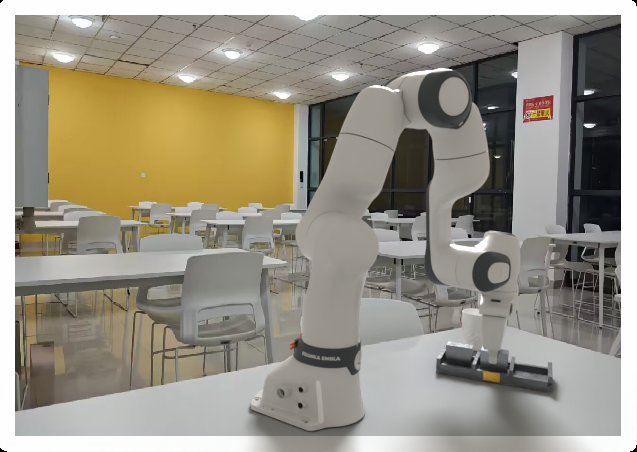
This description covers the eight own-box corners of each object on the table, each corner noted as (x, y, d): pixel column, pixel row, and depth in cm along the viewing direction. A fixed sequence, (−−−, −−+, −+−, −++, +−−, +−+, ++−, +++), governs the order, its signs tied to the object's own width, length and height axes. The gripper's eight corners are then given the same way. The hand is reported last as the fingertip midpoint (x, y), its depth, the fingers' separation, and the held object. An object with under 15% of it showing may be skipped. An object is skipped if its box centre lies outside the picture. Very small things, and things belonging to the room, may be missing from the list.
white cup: (494, 352, 137) (496, 316, 136) (464, 351, 137) (466, 315, 136) (485, 343, 144) (487, 308, 144) (457, 342, 145) (458, 307, 144)
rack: (435, 373, 121) (436, 348, 120) (443, 359, 130) (444, 336, 130) (551, 393, 111) (553, 366, 110) (551, 377, 120) (552, 352, 120)
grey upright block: (479, 370, 120) (480, 350, 120) (481, 366, 123) (482, 346, 123) (506, 375, 118) (508, 354, 117) (507, 370, 121) (509, 350, 120)
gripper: (488, 290, 130) (485, 343, 131) (478, 308, 111) (474, 369, 112) (514, 293, 127) (511, 347, 128) (509, 311, 109) (505, 374, 110)
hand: (494, 358), depth 120 cm, fingers open, 6 cm apart
